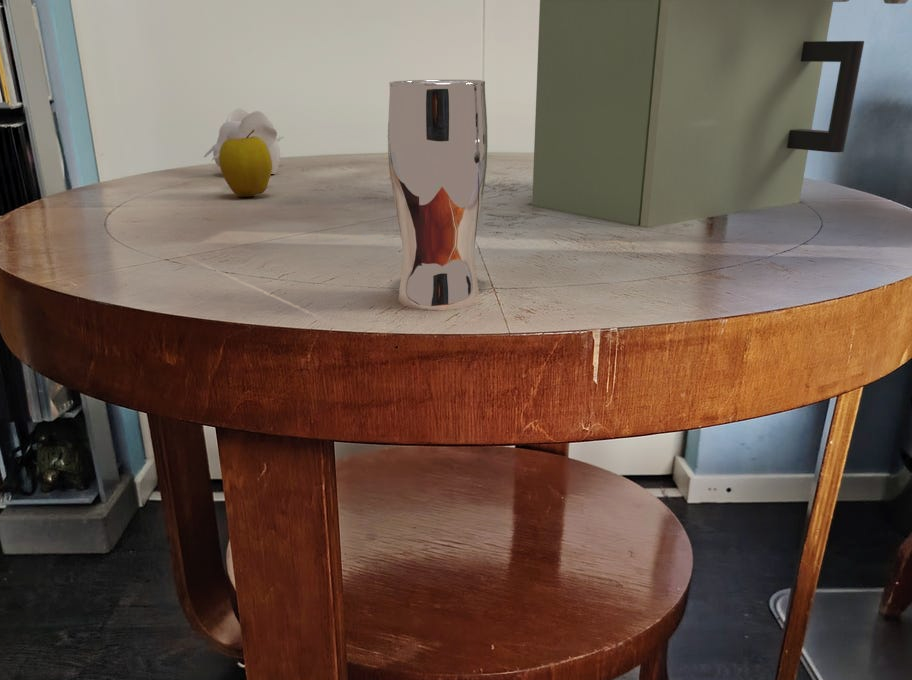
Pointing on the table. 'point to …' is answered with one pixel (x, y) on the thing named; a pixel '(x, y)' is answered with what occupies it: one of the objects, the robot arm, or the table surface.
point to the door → (740, 105)
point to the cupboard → (594, 106)
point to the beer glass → (438, 187)
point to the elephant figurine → (242, 126)
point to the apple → (246, 165)
